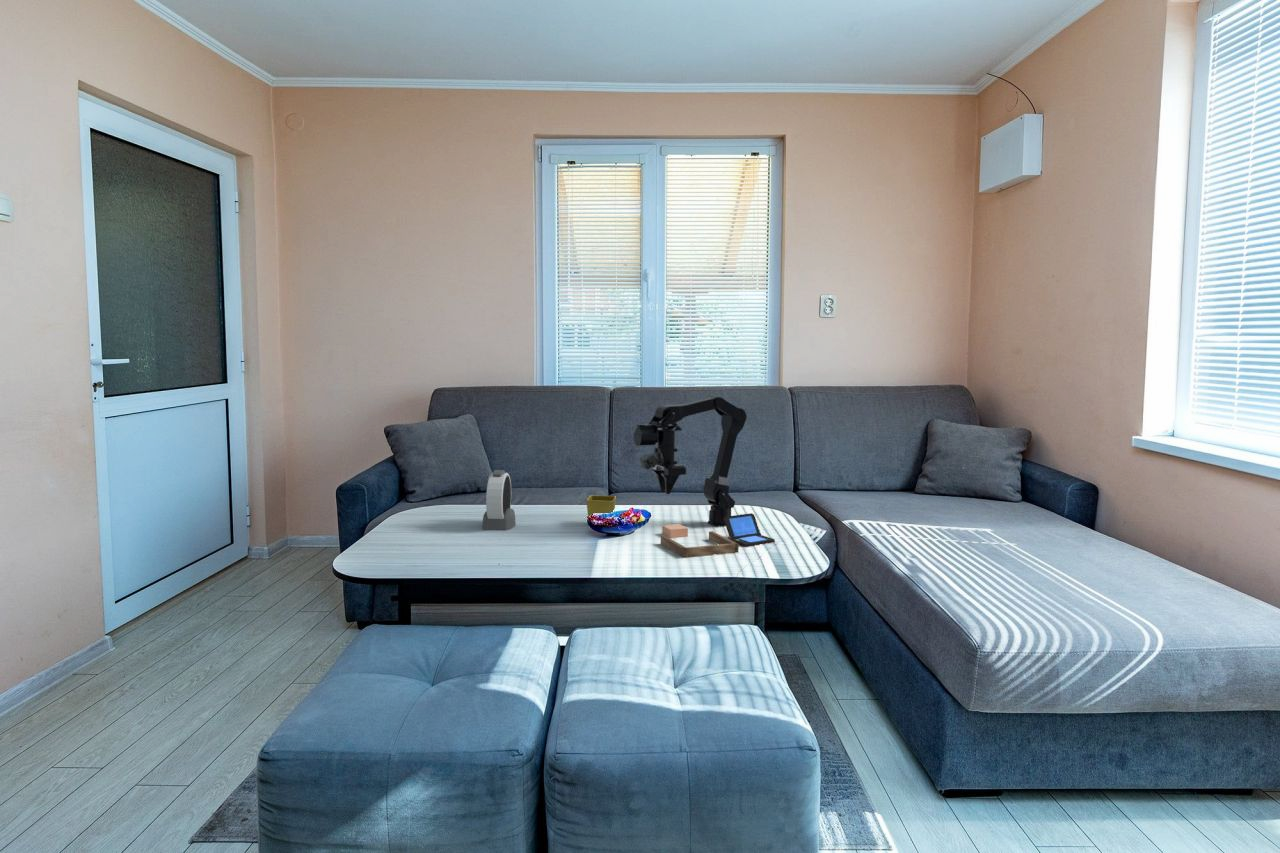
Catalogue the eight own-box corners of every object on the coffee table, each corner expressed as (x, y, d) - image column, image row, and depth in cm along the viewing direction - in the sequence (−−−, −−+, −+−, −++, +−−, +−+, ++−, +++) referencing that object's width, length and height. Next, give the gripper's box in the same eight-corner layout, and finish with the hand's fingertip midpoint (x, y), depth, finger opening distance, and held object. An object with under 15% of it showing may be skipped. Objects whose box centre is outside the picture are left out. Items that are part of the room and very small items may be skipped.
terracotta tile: (679, 533, 249) (679, 524, 249) (687, 537, 244) (687, 528, 243) (662, 534, 247) (662, 525, 246) (670, 539, 241) (670, 529, 241)
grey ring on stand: (510, 532, 246) (510, 474, 244) (477, 531, 246) (477, 474, 244) (519, 520, 262) (519, 466, 260) (488, 519, 262) (488, 466, 260)
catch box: (712, 539, 241) (712, 531, 240) (738, 552, 226) (738, 543, 225) (660, 543, 234) (660, 535, 234) (684, 557, 219) (684, 548, 219)
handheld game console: (745, 548, 232) (746, 523, 231) (722, 540, 240) (722, 516, 240) (776, 543, 239) (777, 519, 238) (752, 535, 247) (753, 512, 247)
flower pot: (616, 522, 262) (616, 495, 261) (612, 528, 253) (613, 500, 252) (590, 521, 263) (590, 494, 262) (585, 527, 254) (586, 499, 253)
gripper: (631, 442, 255) (631, 489, 257) (654, 449, 238) (653, 499, 240) (662, 440, 259) (662, 487, 261) (687, 448, 242) (686, 497, 244)
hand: (665, 492), depth 251 cm, fingers open, 4 cm apart
